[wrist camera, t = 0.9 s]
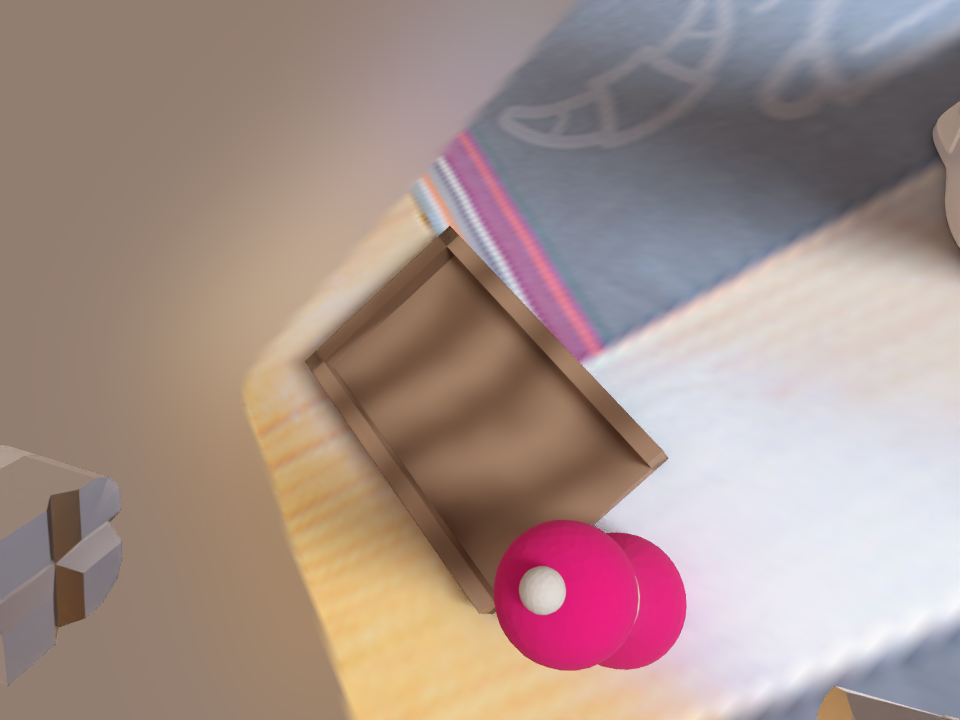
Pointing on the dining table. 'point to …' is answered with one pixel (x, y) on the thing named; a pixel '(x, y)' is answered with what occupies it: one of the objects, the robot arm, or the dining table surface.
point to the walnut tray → (478, 413)
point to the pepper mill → (588, 597)
